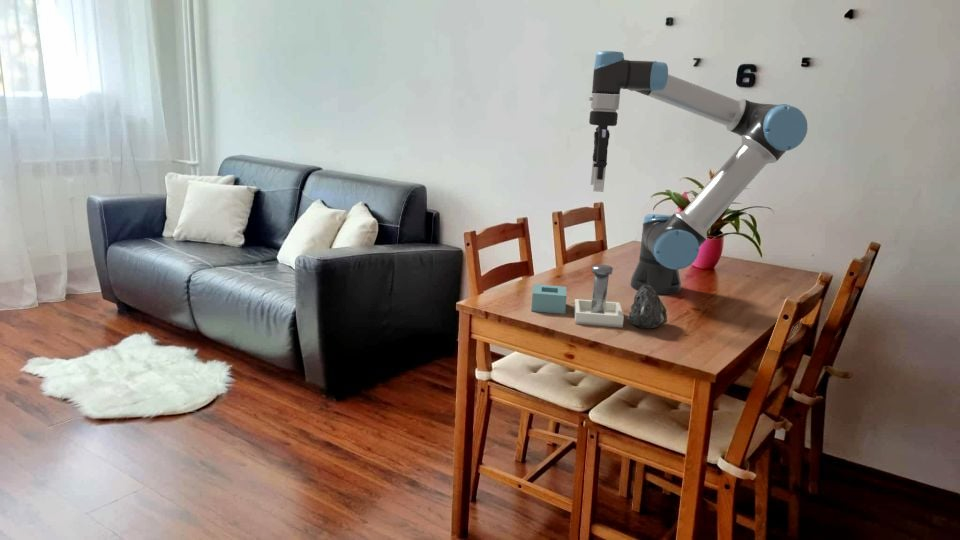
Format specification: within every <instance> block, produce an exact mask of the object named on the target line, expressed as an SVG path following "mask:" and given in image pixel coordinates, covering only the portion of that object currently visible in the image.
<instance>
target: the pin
mask: <svg viewBox="0 0 960 540" xmlns="http://www.w3.org/2000/svg"><path fill="white" fill-rule="evenodd" d="M591 273H593V274H594V277H593V287H592V288H593V289H592V298H591V300H592V307H591V313H601V314H605V306H606V302H607V295H608V285H609V276H610V275H612V274H613V267H612V266H611V265H607V264H594V265H592V266H591Z"/></svg>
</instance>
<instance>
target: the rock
mask: <svg viewBox="0 0 960 540" xmlns="http://www.w3.org/2000/svg"><path fill="white" fill-rule="evenodd" d="M630 310H631V311H630V312H629V313H628V316H627V318H626V319H627V320H628V321H629V323H630V324H631V325H633V326H637V327H638V328H639V329H653V328H657V327H658V326H660V325H661V324H666V323H667V322H668V316H667V315H668V314H667V308H666V307H665V305H664V304H663V302H662V301H661V298H660V297H659V294H657V293H656V291H655V290H654V289H653V287H652V286H647V285H643V286H641V287H640V289H639V290H637V291H636V293H635V295H634V297H633V304H632V305H631V306H630Z"/></svg>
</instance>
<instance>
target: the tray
mask: <svg viewBox="0 0 960 540" xmlns="http://www.w3.org/2000/svg"><path fill="white" fill-rule="evenodd" d="M573 306H574V307H573V315H574V316H573V317H574V324H575V325H585V326H597V327H599V326H600V327H609V328H610V327H611V328H623V327H624V326H623V325H624V313H623V310H622V306H621V303H620V302H616V301H606V306H605V314H601V313H591V307H592V299H580V298H575V299H574V304H573Z"/></svg>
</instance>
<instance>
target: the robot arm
mask: <svg viewBox="0 0 960 540" xmlns="http://www.w3.org/2000/svg"><path fill="white" fill-rule="evenodd" d="M593 66H594V67H593V75H592V76H593V77H592V86H591V87H592V88H591V89H592V91H591V97H589V98H588V100H589V101H591V102H590V109H592V110H591V111H590V112H589V119H588V120H589V121H588V122H589V125H593V126H597V127H596V128H595V131H594V133H593V138H594V139H593V153H592V165H591V166H592V167H591V176H590V185H591V186H593V188H592V192H600V193H601V192H602V193H604V190H605V178H606V170H607V169H606V167H607V166H608V162H607V161H608V147H609V140H610V135H611V134H610V133H611V132H610V130H609V129H608V127H616V126H617V124H618V118H619V117H618V115H619V113H618V112H617V111H619V109H620V107H619V106H620V96H621V90H622V89H623V90H628V91H631V92H637V93H638V94H639V93H640V94H642V95H644V96H648V97H650V98H652V99H655V100H658V101H661V102H663V103H666V104H668V105H671V106H674V107H677V108H678V109H682V110H684V111H686V112H689V113H692V114H695V115H697V116H700V117H702V118H705V119H706V120H707V119H708V120H710V121H713V122H715V123H718V124H721V125H723V126H725V127H726V130H727V131H728V132H732V133H733V134H736V135H738V136H740V137H741V145H740V146H739V147H738V149H736V151H735V152H733V154H732V155H731V156H730V157H729V158H728V160H727V161H726V162H725V163H724V164H723V165H722V166H721V168H720V169H719V170H718V171H717V172H716V173H715V174H714V175H713V177H712V178H711V179H710V180H709V181H708V183H706V184H705V186H703V188H702V189H701V190H700V191H699V193H697V194H696V196H695V197H694V198H693V199H692V200H691V202H690V203H689V204H688V205H687V206H686V207H685V208H684V210H682V211H679V212H674V213H673V214H671V215H669V214H654V213H651V214H650V213H648V214H645V215H644V217H643V223H642V231H641V232H642V233H641V239H640V240H641V241H640V247H639V249H640V251H639V258H638V263H637V265H636V267H635V269H634V272H633V274H632V276H631V278H630V286H631V287H632V288H633V289H635V290H637V291H638V290H639V289H640V287H641V286H643V285H647V286H652V287H653V289H654V290H655V291H656V293H657V295H673V294H679V293H680V292H681V288H682V287H681V286H682V281H681V276H680V270H683V269H685V268H688V267H689V266H691V265H692V264H693V263H694V262H695V261H696V260H697V258H698V255H699V252H700V247H701V246H702V245H703V244H704V243H705V242H706V240H707V239H708V233H707V231H708V230H709V229H710V228H711V227H712V226H713V224H715V222H717V220H718V219H719V218H720V217H721V215H723V213H725V211H726V210H727V209H728V208H729V207H730V206H731V205H732V204H733V202H734V201H735V200H736V199H737V198H738V197H739V196H740V194H741V193H742V192H743V191H745V189H746V188H747V187H748V185H749V184H751V182H752V181H753V180H754V179H755V178H756V176H758V175H759V174H760V172H761V171H762V170H763V169H764V168H765V166H767V165H768V164H773V163H774V164H775V163H777V162H778V161H779V160H780V158H782V157H783V155H784V154H785V153H786V152H787V151H791V150H794V149H795V148H797V147H798V146H800V145H801V144H802V143H803V142H804V140H805V138H806V136H807V134H808V122H807V121H808V120H807V118H806V115H805V114H804V113H803V111H802V110H800V109H799V108H797V107H796V106H793V105H790V104H786V103H785V104H784V103H783V104H782V103H781V104H773V103H772V104H771V103H770V104H769V103H759V102H755V101H750V100H747V99H745V98H741V99H738V100H737V99H734V98H731V97H729V96H726V95H724V94H721V93H718V92H716V91H712V90H710V89H708V88H705V87H703V86H700V85H698V84H695V83H692V82H689V81H686V80H684V79H681V78H679V77H677V76H673V75H671V74H669V67H668V65H667V63H666V62H665V61H664V62H663V61H662V62H661V61H656V60H654V61H649V60H629V59H625V54H624V52H622V51H616V50H615V51H614V50H600V51H598V52H597V53H596V54H595V60H594V65H593Z"/></svg>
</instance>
